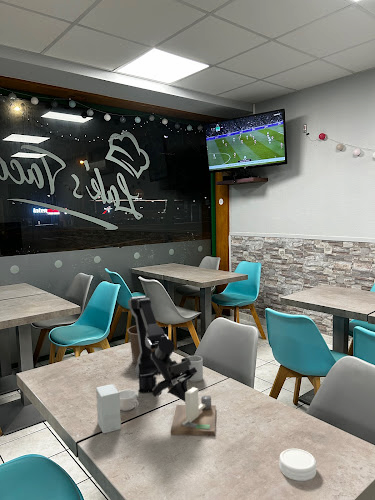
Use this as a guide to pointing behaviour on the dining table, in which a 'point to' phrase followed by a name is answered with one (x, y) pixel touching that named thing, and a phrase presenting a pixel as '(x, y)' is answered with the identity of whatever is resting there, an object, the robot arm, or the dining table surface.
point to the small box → (108, 408)
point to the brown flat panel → (194, 422)
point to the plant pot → (134, 343)
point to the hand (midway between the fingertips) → (188, 402)
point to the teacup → (128, 399)
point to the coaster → (297, 464)
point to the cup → (198, 364)
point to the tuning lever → (195, 404)
